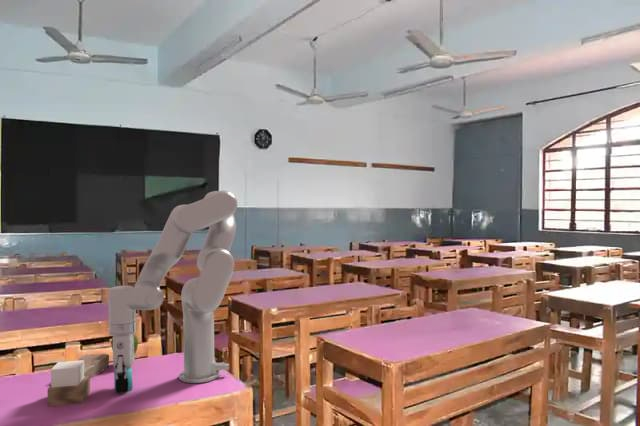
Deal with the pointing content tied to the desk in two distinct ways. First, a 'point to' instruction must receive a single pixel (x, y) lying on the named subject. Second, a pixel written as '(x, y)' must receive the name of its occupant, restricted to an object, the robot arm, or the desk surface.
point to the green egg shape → (134, 343)
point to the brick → (94, 363)
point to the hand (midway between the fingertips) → (123, 387)
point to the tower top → (67, 373)
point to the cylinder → (130, 383)
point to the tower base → (69, 393)
